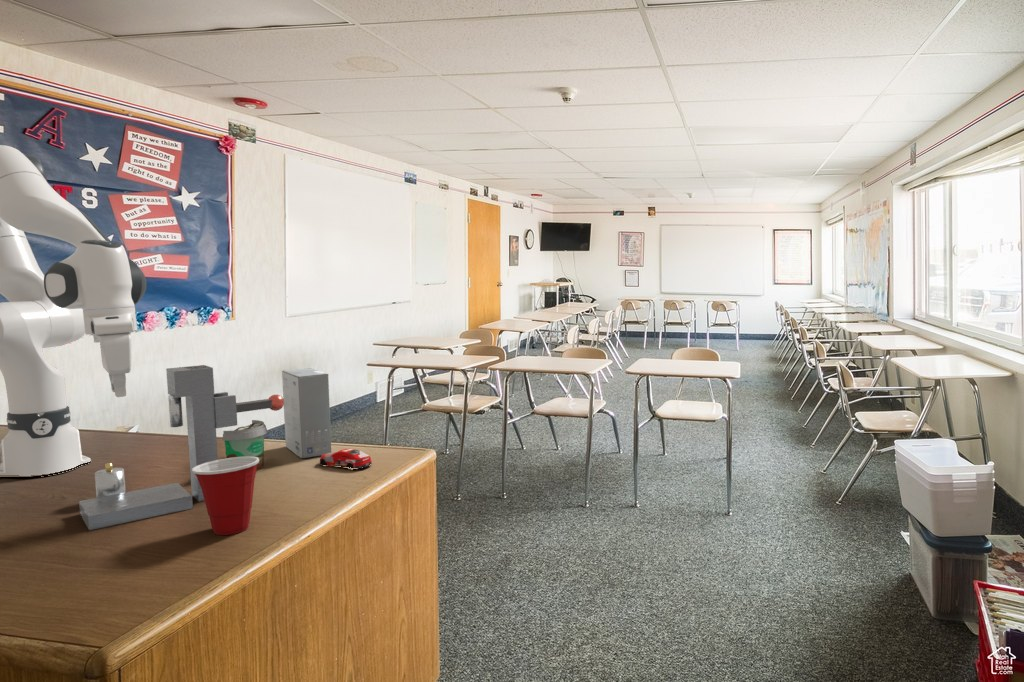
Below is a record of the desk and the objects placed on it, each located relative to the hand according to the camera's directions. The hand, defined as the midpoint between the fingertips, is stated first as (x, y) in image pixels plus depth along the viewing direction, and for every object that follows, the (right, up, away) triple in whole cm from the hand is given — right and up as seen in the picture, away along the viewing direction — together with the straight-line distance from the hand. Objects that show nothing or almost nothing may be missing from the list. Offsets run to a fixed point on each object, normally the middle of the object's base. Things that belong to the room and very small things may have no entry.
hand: (119, 394), depth 137 cm
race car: (+39, -19, +24) cm, 49 cm away
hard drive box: (+26, -17, +38) cm, 49 cm away
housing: (-2, -21, +2) cm, 21 cm away
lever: (+23, -5, +8) cm, 25 cm away
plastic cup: (+28, -23, -15) cm, 39 cm away
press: (+10, -21, -2) cm, 24 cm away
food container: (+18, -19, +23) cm, 35 cm away
